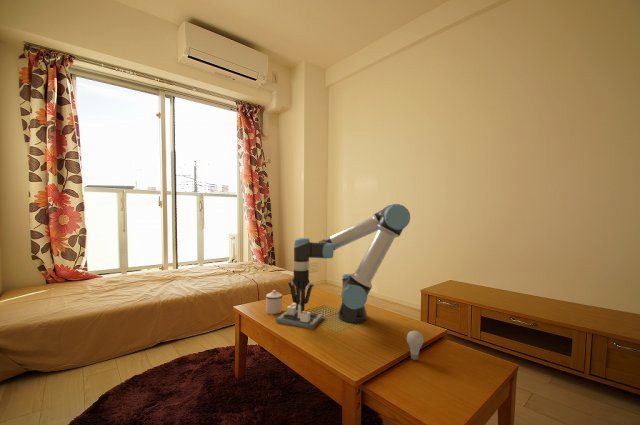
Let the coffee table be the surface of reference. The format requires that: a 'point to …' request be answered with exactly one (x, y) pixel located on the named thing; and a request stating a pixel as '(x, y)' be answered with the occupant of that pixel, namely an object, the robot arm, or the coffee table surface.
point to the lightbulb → (415, 343)
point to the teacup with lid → (273, 302)
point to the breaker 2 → (305, 316)
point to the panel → (295, 321)
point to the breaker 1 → (291, 310)
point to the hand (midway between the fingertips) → (300, 317)
